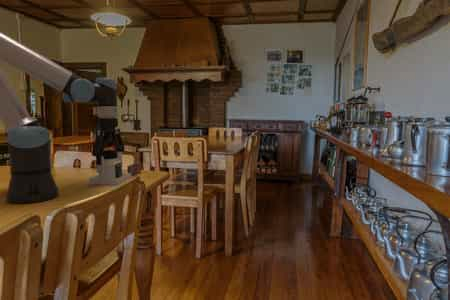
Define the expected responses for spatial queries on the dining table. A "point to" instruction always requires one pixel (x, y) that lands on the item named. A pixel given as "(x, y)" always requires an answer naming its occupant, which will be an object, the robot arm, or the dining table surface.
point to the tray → (109, 180)
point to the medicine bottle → (111, 165)
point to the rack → (134, 169)
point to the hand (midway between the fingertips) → (110, 169)
